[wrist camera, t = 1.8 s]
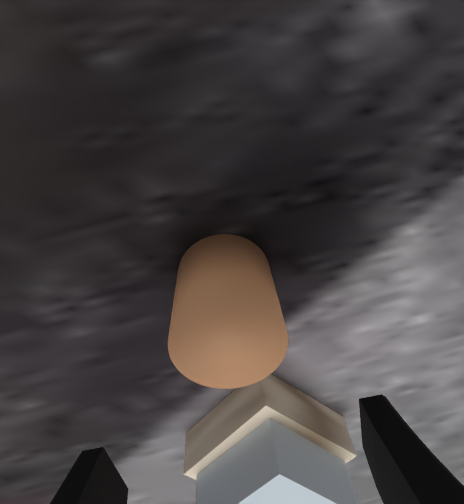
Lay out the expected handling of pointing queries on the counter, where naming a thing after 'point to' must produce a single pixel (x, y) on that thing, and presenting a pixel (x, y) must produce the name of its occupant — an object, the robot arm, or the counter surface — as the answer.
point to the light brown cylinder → (226, 314)
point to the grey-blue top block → (275, 472)
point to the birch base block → (257, 412)
